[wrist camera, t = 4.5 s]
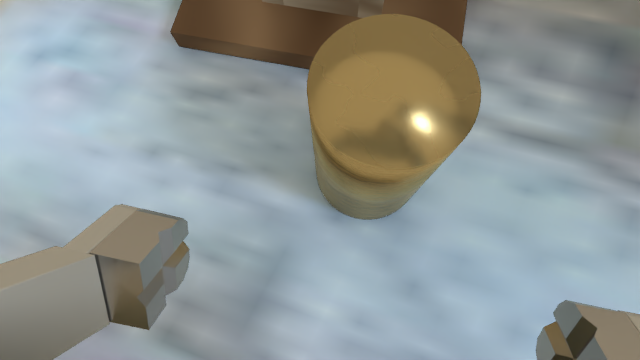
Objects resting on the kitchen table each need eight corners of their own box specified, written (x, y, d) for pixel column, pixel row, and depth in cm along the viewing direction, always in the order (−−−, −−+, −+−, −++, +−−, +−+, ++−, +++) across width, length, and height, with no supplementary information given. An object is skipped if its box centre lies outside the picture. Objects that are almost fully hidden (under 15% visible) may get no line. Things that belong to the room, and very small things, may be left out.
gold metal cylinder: (423, 133, 19) (488, 28, 11) (409, 229, 17) (471, 184, 10) (327, 115, 19) (326, 2, 12) (306, 207, 18) (289, 148, 10)
